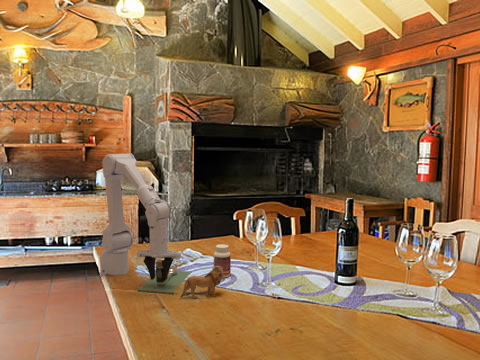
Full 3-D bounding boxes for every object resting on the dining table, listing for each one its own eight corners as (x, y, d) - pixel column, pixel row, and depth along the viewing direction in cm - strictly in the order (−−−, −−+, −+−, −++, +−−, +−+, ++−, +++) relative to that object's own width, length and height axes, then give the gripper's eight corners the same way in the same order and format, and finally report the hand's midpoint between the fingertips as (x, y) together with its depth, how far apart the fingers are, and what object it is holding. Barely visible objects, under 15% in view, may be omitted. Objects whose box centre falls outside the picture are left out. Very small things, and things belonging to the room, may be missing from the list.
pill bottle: (233, 276, 159) (234, 246, 158) (219, 279, 156) (219, 249, 154) (224, 271, 164) (225, 243, 163) (210, 274, 161) (210, 245, 160)
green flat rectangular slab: (137, 292, 142) (137, 288, 142) (161, 272, 163) (161, 269, 163) (173, 294, 140) (173, 291, 140) (192, 274, 161) (192, 271, 161)
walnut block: (155, 272, 159) (155, 261, 159) (158, 269, 162) (157, 259, 162) (164, 272, 159) (164, 262, 159) (166, 270, 162) (166, 259, 162)
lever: (153, 286, 145) (153, 269, 144) (169, 269, 162) (169, 254, 162) (165, 286, 144) (165, 269, 143) (179, 270, 162) (179, 254, 161)
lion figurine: (219, 289, 146) (220, 263, 145) (226, 294, 141) (226, 267, 140) (177, 296, 139) (177, 268, 138) (182, 302, 134) (182, 273, 133)
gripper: (132, 240, 142) (133, 281, 143) (175, 243, 139) (175, 284, 140) (141, 235, 148) (142, 274, 150) (182, 237, 146) (182, 277, 147)
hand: (158, 279), depth 146 cm, fingers open, 4 cm apart
